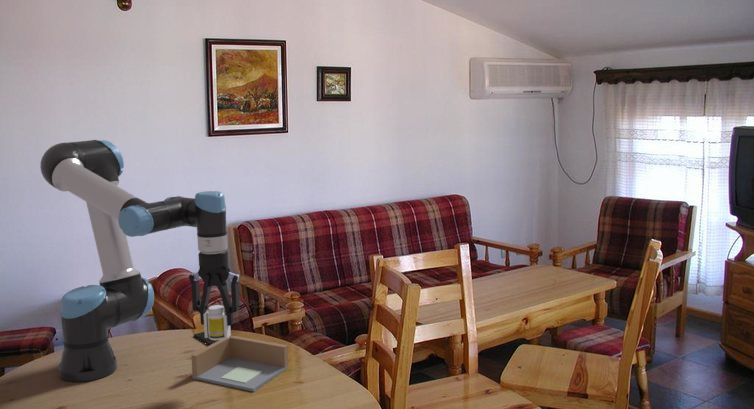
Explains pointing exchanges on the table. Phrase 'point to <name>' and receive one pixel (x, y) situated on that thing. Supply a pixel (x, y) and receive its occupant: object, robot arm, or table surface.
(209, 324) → the supplement bottle
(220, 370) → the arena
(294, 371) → the table surface
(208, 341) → the handheld gaming console
